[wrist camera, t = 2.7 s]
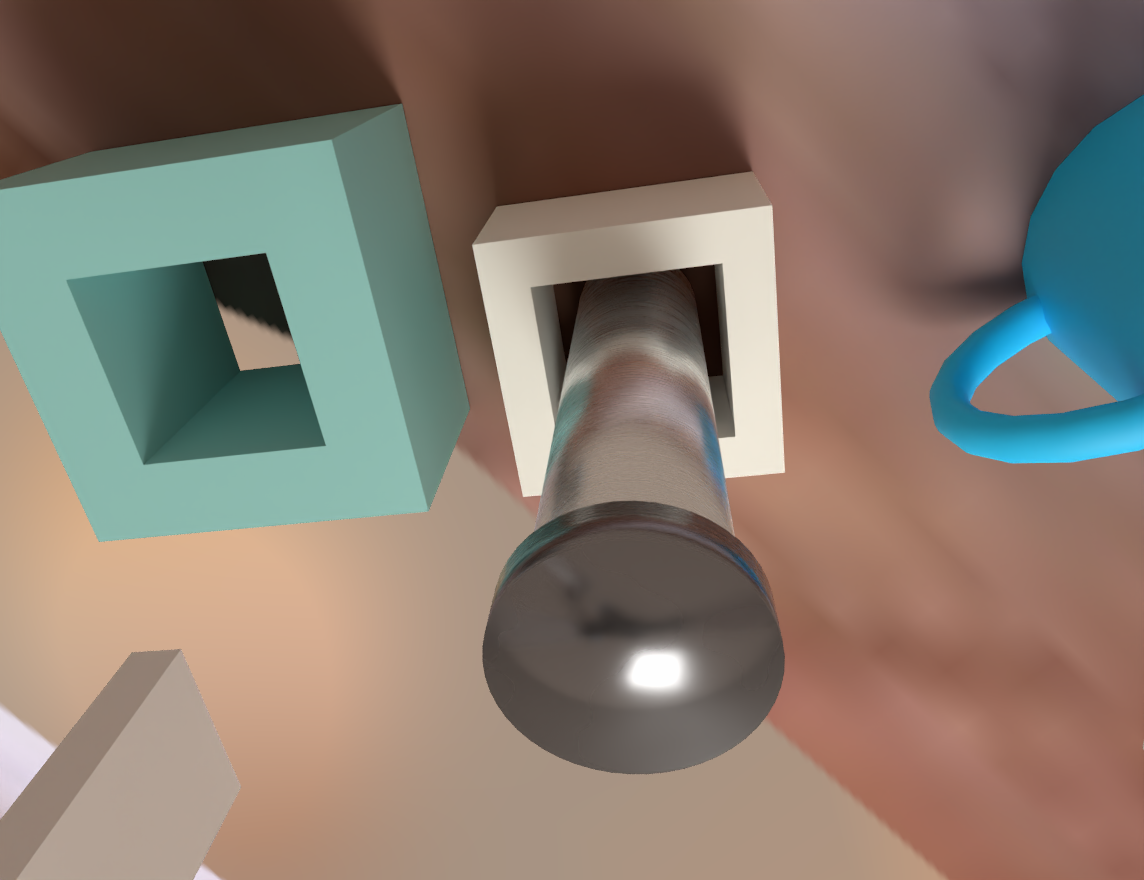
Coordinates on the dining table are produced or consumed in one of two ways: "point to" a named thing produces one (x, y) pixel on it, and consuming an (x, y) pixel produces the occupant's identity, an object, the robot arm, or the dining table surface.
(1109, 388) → the mug
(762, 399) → the mount
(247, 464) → the socket
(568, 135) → the dining table surface
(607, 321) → the pin
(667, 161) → the dining table surface
